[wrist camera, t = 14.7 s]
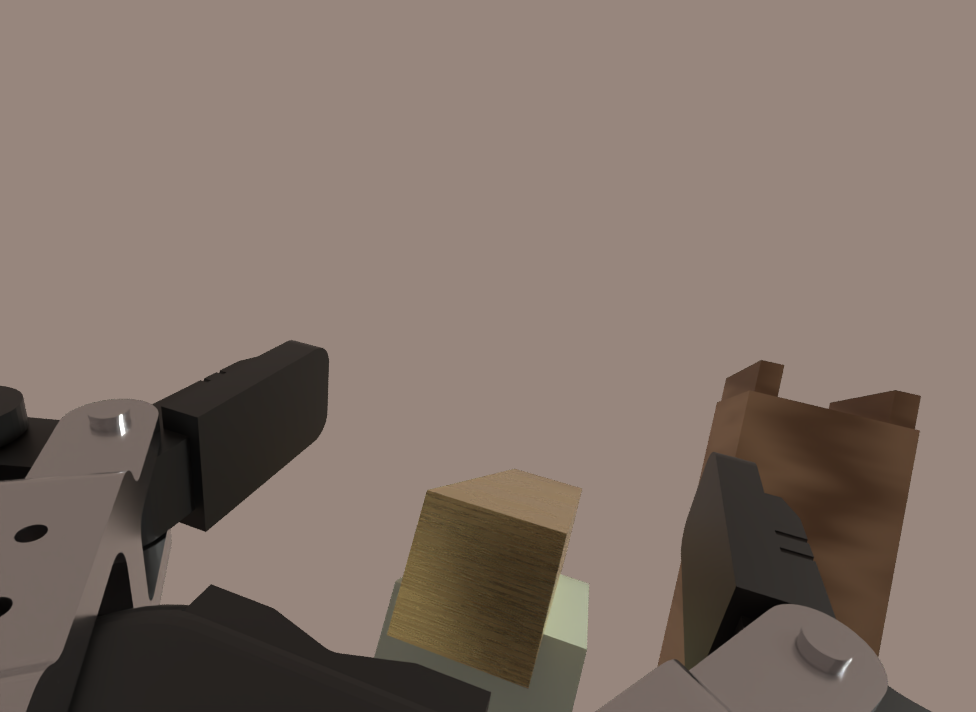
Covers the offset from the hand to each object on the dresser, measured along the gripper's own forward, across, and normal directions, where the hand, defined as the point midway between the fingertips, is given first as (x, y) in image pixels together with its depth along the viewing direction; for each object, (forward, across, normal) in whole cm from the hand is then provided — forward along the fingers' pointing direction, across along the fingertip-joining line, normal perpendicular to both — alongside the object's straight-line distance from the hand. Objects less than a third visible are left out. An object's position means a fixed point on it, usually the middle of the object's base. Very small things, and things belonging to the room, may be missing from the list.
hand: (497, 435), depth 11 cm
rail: (+6, 0, +10) cm, 11 cm away
